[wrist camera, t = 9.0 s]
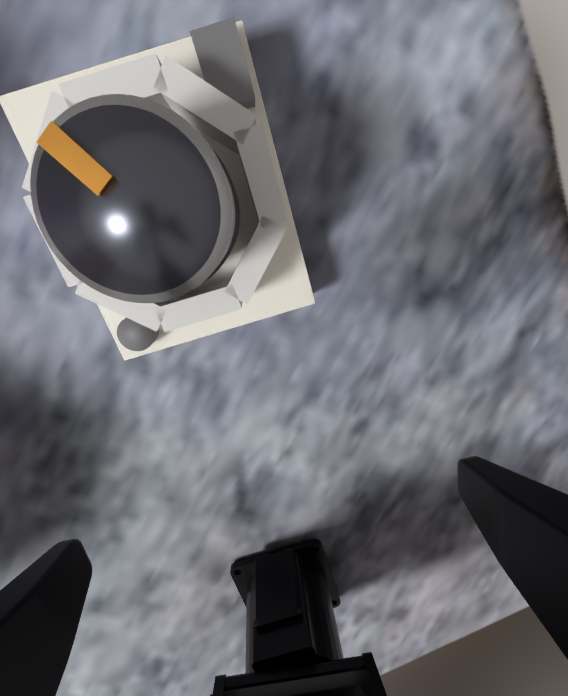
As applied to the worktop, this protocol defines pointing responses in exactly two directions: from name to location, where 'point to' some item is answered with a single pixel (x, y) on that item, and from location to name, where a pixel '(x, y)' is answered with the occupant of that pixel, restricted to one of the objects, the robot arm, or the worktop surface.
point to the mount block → (236, 154)
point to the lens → (133, 199)
